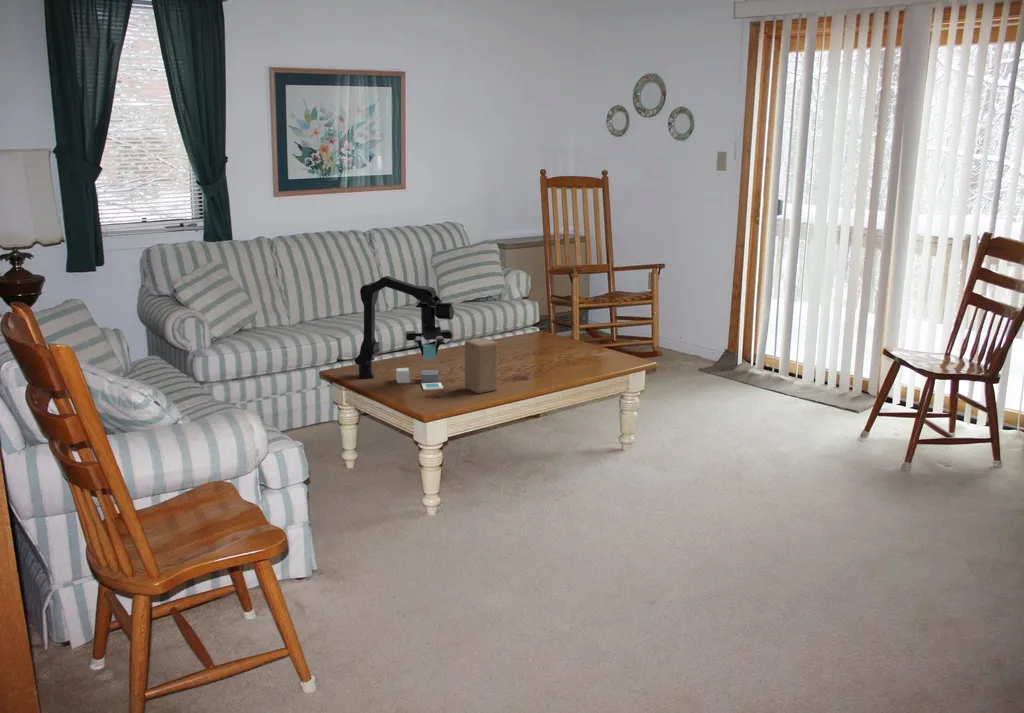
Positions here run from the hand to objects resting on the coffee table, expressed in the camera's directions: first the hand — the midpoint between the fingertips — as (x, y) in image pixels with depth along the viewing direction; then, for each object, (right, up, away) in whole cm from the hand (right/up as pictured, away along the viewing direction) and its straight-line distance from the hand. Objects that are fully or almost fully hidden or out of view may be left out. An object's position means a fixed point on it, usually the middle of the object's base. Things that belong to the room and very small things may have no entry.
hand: (429, 355), depth 371 cm
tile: (+2, -13, -6) cm, 14 cm away
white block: (-11, -11, +3) cm, 16 cm away
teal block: (0, -1, 0) cm, 1 cm away
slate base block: (0, -11, +3) cm, 11 cm away
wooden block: (+22, -14, -9) cm, 27 cm away
